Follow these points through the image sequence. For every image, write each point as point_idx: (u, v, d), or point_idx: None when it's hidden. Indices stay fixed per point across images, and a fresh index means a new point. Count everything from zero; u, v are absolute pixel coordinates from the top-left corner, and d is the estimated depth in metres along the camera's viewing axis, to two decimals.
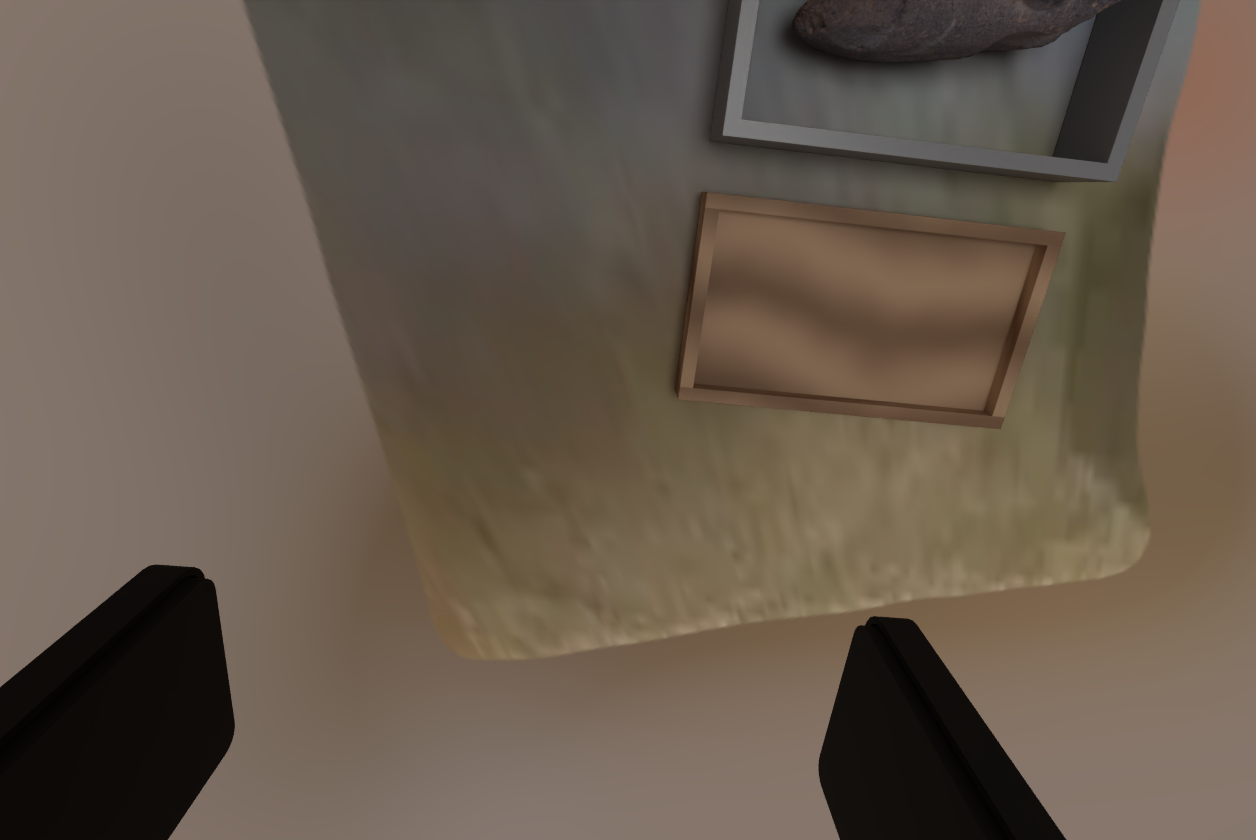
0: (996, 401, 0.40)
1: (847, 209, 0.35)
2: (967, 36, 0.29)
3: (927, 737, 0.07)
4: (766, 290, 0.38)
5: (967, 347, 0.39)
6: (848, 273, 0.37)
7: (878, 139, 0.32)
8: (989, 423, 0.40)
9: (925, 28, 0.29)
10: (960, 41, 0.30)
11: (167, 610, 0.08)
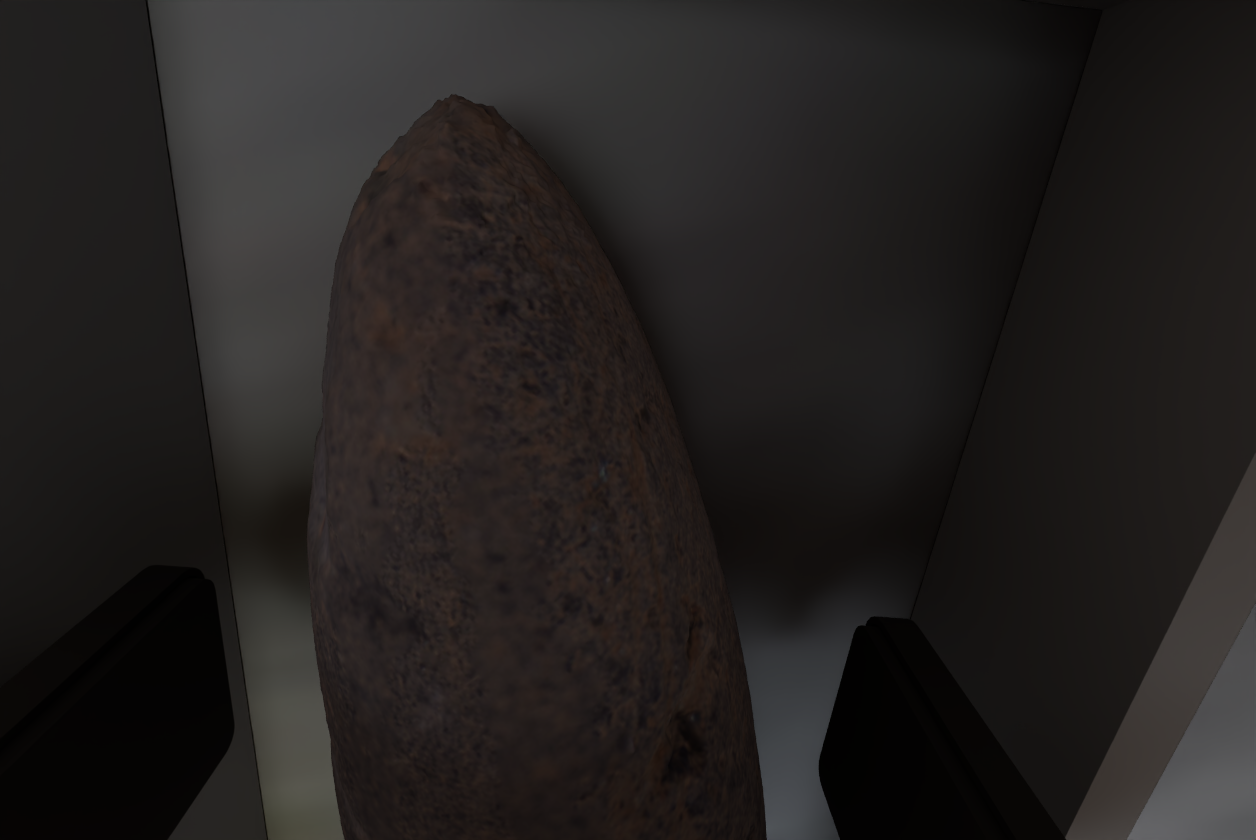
0: None
1: None
2: None
3: (927, 737, 0.07)
4: None
5: None
6: None
7: None
8: None
9: (336, 716, 0.06)
10: None
11: (167, 611, 0.08)
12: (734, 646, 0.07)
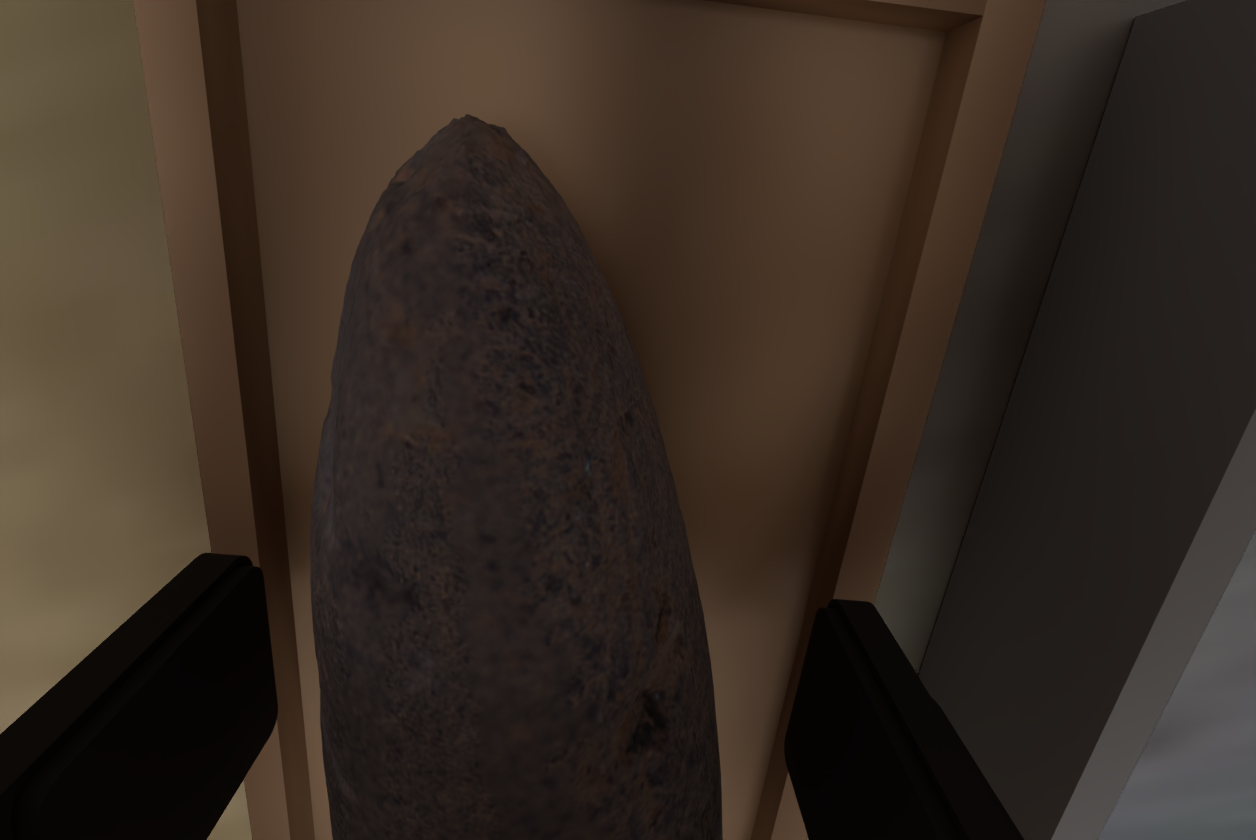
0: None
1: (901, 489, 0.11)
2: (330, 817, 0.07)
3: (875, 710, 0.07)
4: (637, 252, 0.10)
5: None
6: (686, 508, 0.12)
7: (1217, 584, 0.09)
8: None
9: (330, 680, 0.06)
10: None
11: (222, 595, 0.08)
12: (700, 636, 0.08)
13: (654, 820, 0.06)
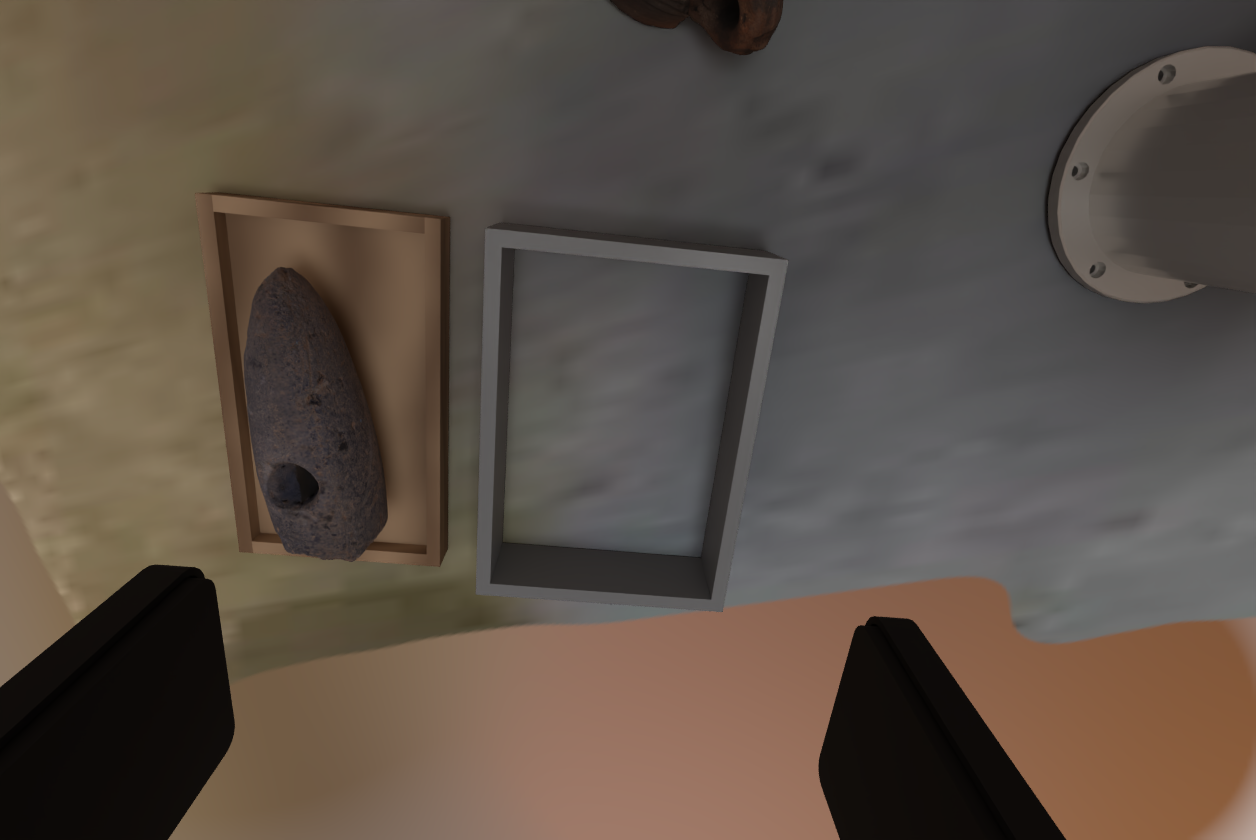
0: (268, 542, 0.38)
1: (438, 369, 0.35)
2: (249, 428, 0.31)
3: (927, 737, 0.07)
4: (350, 294, 0.34)
5: None
6: (380, 379, 0.36)
7: (493, 386, 0.33)
8: (243, 540, 0.38)
9: (247, 388, 0.30)
10: None
11: (167, 610, 0.08)
12: (342, 392, 0.32)
13: (317, 421, 0.30)
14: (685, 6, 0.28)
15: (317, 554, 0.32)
